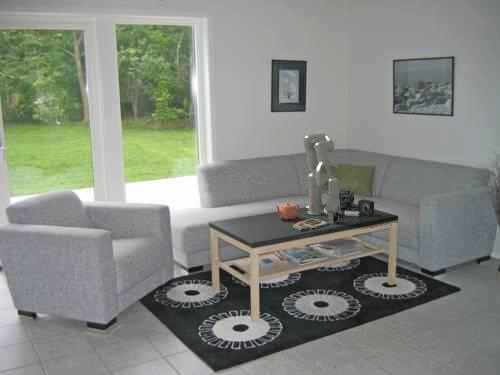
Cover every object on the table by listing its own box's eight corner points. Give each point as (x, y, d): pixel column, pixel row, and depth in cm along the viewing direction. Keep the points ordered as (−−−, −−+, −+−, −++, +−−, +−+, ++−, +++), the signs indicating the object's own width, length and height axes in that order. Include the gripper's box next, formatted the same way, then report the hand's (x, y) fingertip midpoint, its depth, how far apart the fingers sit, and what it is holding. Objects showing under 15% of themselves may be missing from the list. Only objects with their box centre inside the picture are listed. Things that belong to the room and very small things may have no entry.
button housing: (293, 228, 365) (293, 224, 364) (300, 226, 369) (300, 222, 368) (300, 231, 359) (300, 226, 359) (307, 229, 363) (307, 224, 363)
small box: (357, 214, 396) (357, 200, 394) (362, 212, 400) (362, 198, 398) (369, 216, 389) (369, 202, 386) (374, 214, 393) (374, 201, 391)
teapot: (295, 215, 399) (295, 199, 396) (303, 219, 388) (303, 203, 385) (271, 218, 391) (271, 203, 389) (278, 222, 380) (278, 206, 378)
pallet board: (295, 224, 375) (295, 221, 374) (312, 219, 385) (312, 216, 384) (311, 229, 362) (311, 226, 362) (329, 224, 372) (329, 221, 372)
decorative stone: (348, 211, 403) (348, 192, 400) (329, 208, 413) (329, 190, 410) (357, 207, 416) (357, 188, 412) (339, 204, 425) (339, 186, 422)
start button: (295, 227, 364) (295, 223, 363) (300, 226, 367) (300, 221, 366) (300, 228, 361) (300, 224, 360) (304, 227, 363) (304, 223, 363)
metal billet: (328, 222, 378) (328, 211, 376) (333, 220, 381) (333, 209, 380) (332, 223, 374) (332, 212, 373) (338, 221, 378) (338, 211, 376)
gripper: (321, 194, 378) (321, 219, 382) (338, 198, 365) (338, 224, 369) (328, 192, 382) (328, 217, 386) (346, 196, 369) (345, 221, 373)
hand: (333, 220), depth 377 cm, fingers closed on metal billet, 4 cm apart
